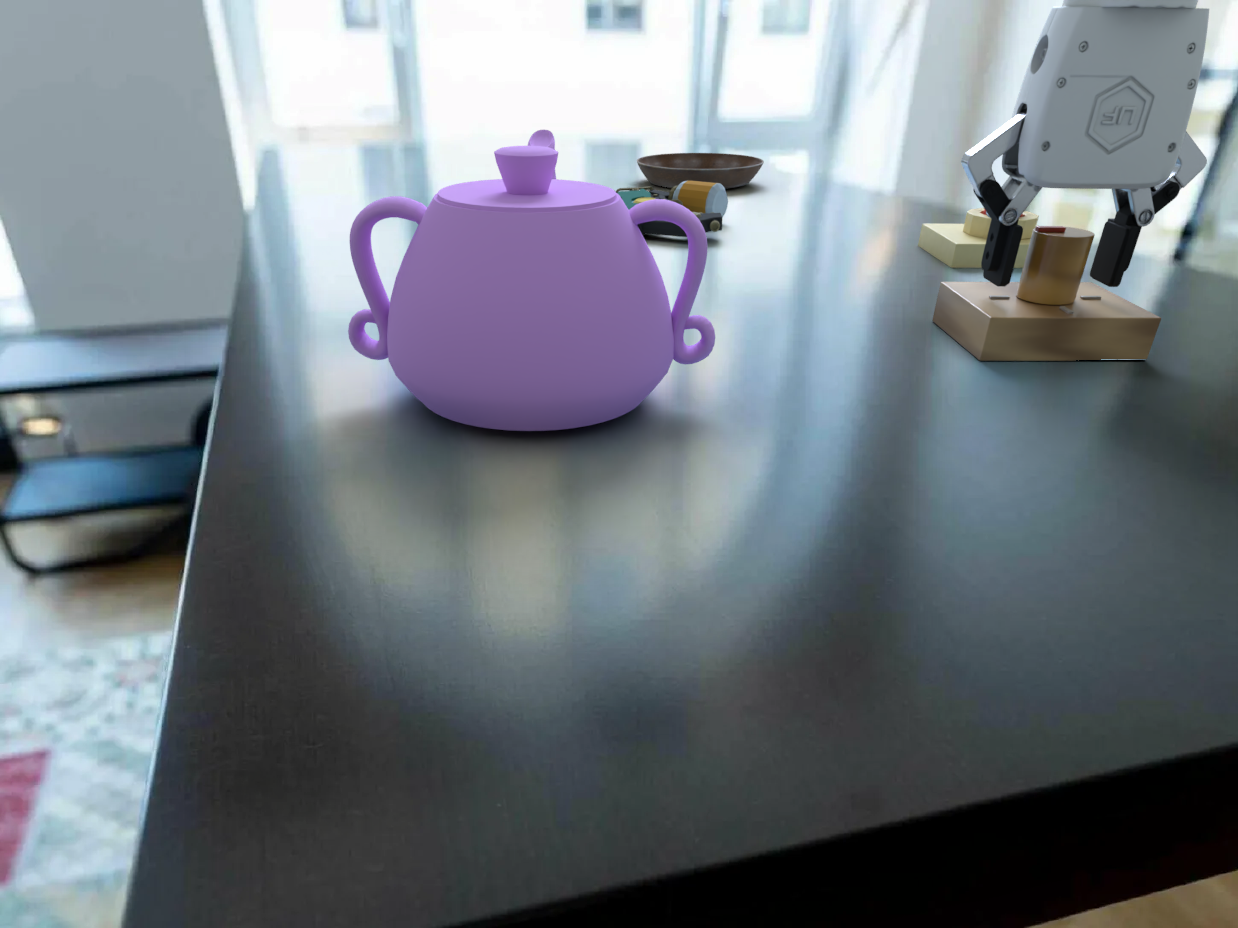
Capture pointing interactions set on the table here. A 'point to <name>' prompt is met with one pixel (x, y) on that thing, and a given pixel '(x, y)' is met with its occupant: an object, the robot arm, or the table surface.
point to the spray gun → (693, 195)
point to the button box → (970, 239)
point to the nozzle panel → (1043, 324)
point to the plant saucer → (699, 168)
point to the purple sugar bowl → (529, 298)
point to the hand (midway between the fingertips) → (1049, 280)
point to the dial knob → (1054, 264)
